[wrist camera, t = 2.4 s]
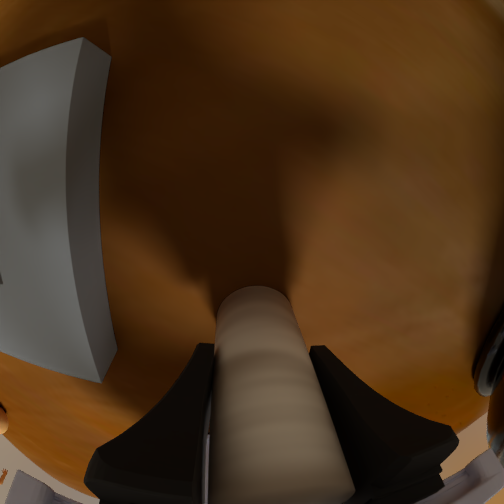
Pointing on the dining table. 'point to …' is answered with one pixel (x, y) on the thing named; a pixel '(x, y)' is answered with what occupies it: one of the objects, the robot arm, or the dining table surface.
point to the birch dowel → (269, 410)
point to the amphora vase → (493, 386)
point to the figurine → (0, 427)
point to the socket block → (54, 211)
